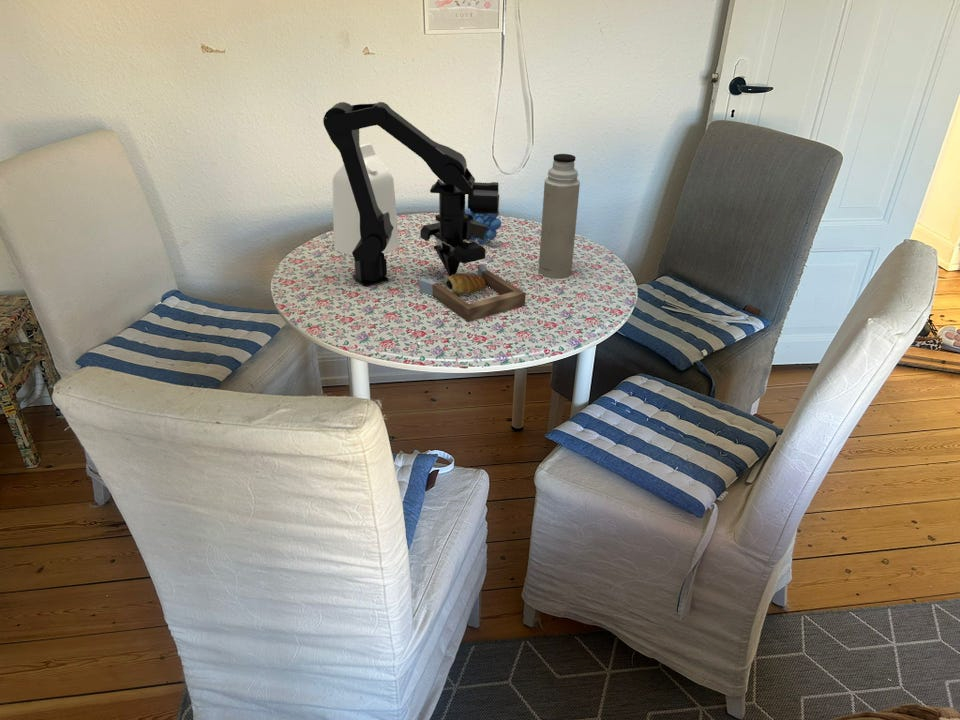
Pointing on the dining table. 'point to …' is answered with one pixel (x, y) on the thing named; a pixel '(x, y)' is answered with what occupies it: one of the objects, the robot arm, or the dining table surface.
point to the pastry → (464, 283)
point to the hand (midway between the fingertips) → (451, 276)
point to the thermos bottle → (559, 218)
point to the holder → (469, 312)
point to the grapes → (489, 221)
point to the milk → (346, 207)
